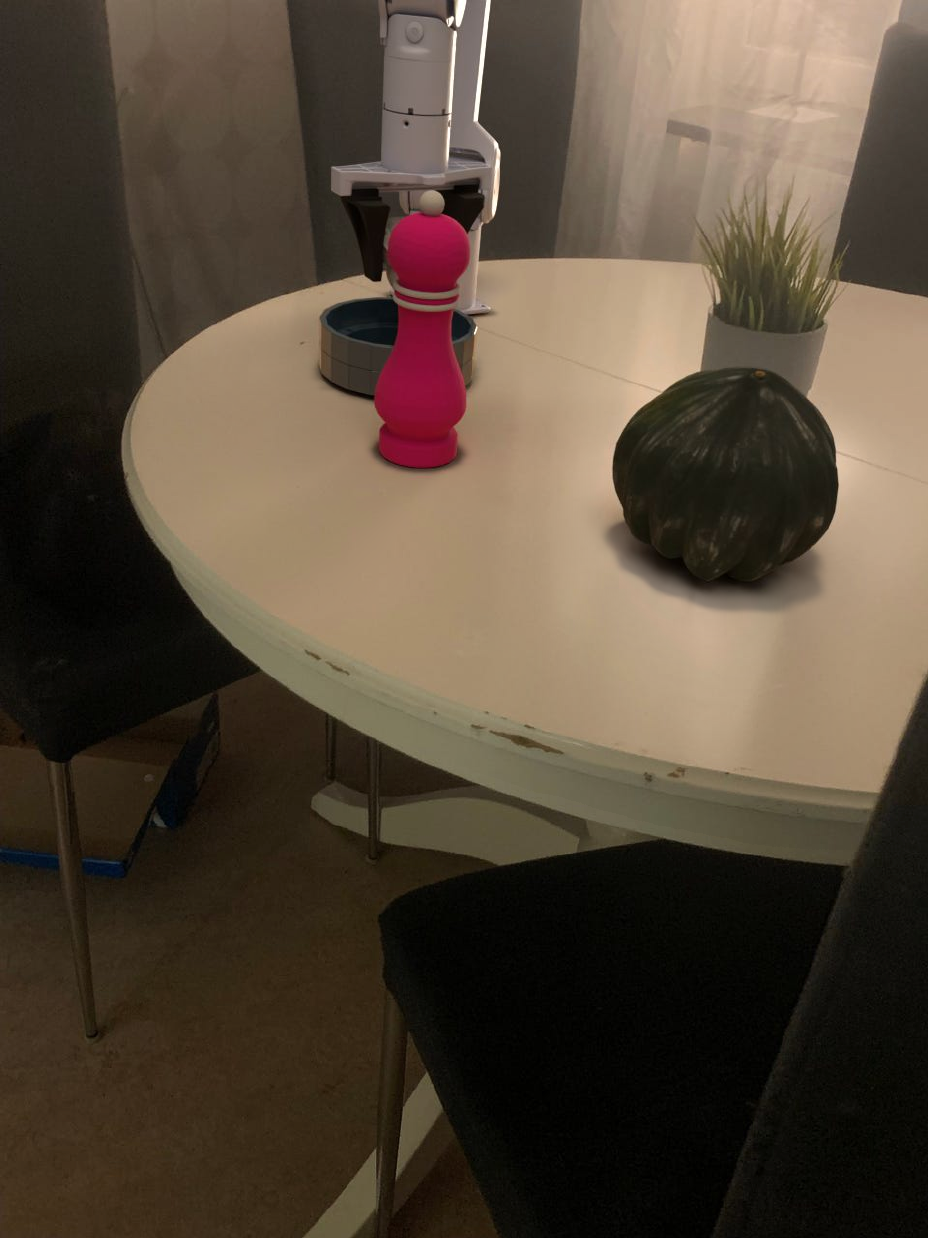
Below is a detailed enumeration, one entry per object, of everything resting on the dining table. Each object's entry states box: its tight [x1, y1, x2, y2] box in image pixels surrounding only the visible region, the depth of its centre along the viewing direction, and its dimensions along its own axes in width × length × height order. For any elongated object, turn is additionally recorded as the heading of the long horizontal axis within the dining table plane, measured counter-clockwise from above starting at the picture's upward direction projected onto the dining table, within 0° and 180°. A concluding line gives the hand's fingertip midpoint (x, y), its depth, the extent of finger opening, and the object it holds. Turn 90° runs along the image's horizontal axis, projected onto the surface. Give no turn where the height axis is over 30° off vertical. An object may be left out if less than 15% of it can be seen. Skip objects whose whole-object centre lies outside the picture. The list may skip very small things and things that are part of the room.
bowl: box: [318, 296, 478, 396], centre depth 99 cm, size 14×14×5 cm
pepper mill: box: [373, 190, 470, 469], centre depth 81 cm, size 7×7×20 cm
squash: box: [611, 365, 840, 582], centre depth 73 cm, size 14×15×15 cm
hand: (409, 275), depth 97 cm, fingers closed on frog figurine, 7 cm apart
